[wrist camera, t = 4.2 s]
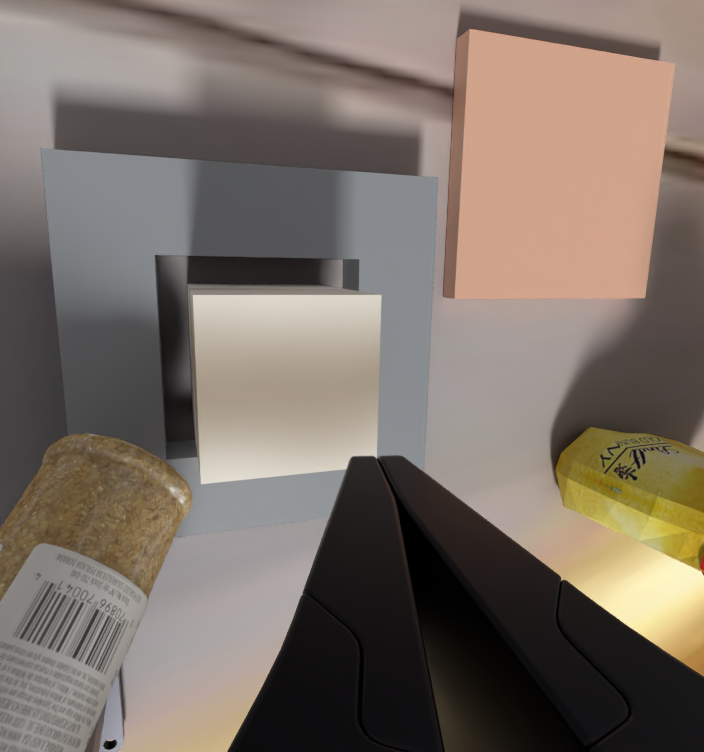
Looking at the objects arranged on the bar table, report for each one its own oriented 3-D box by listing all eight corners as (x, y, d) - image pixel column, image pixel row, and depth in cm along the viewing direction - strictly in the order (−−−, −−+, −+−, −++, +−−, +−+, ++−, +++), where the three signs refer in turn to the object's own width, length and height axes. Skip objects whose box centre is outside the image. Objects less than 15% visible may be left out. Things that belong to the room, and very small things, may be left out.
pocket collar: (403, 486, 24) (422, 505, 23) (87, 524, 20) (78, 550, 19) (415, 184, 22) (438, 177, 20) (54, 160, 18) (40, 148, 16)
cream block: (317, 406, 22) (376, 466, 16) (192, 414, 21) (200, 484, 14) (318, 284, 21) (381, 294, 15) (186, 283, 20) (192, 295, 13)
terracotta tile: (628, 296, 26) (645, 298, 25) (443, 297, 23) (454, 298, 22) (655, 71, 24) (675, 63, 23) (456, 38, 21) (469, 28, 20)
